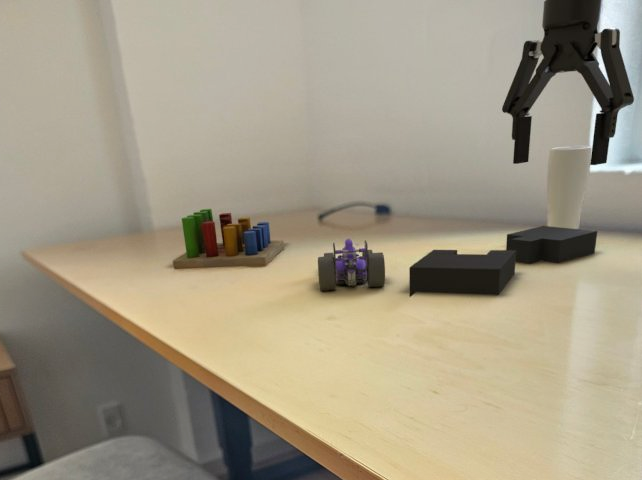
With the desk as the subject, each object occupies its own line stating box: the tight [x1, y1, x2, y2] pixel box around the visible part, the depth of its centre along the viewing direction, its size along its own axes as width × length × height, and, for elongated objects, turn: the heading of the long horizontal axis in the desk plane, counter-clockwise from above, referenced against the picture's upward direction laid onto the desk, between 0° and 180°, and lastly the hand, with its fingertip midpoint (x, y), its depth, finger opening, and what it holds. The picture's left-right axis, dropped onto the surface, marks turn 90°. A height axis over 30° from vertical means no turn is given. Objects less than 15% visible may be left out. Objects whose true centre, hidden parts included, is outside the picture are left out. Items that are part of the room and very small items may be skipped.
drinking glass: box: [546, 145, 592, 229], centre depth 115 cm, size 7×7×15 cm
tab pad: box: [505, 225, 598, 265], centre depth 103 cm, size 10×12×4 cm
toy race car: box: [317, 238, 386, 292], centre depth 100 cm, size 10×15×6 cm, turn 179°
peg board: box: [172, 208, 285, 270], centre depth 123 cm, size 18×17×9 cm
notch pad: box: [408, 249, 516, 297], centre depth 92 cm, size 12×12×4 cm
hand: (557, 163), depth 98 cm, fingers open, 13 cm apart
